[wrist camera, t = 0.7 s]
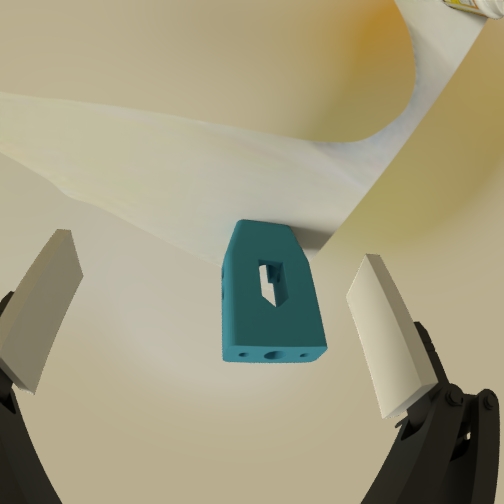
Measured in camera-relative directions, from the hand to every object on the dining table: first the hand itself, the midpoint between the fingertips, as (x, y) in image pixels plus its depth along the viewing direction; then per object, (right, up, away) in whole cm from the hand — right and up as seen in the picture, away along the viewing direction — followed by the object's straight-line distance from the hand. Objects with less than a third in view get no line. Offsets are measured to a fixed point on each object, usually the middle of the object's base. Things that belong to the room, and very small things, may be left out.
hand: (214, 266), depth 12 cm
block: (+3, +4, +34) cm, 34 cm away
